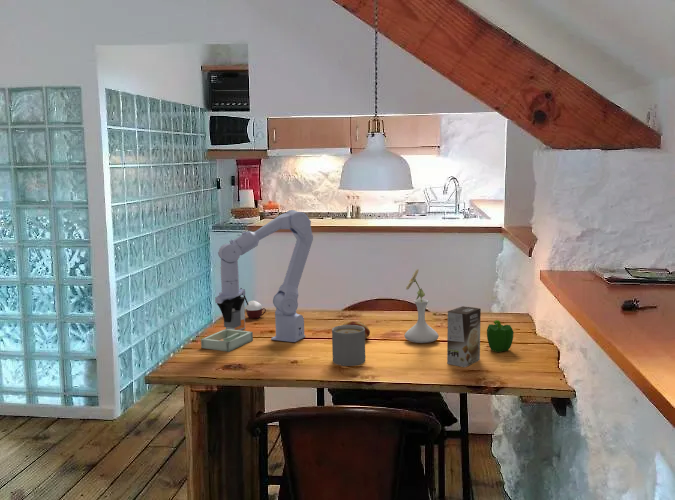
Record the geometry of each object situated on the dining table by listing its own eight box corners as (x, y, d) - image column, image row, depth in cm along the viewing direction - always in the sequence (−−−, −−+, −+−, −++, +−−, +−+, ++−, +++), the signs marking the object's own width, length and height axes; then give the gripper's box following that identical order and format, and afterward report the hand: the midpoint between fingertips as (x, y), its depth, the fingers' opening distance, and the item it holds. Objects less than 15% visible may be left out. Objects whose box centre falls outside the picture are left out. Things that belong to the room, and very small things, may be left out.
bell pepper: (502, 345, 214) (502, 315, 212) (518, 351, 206) (518, 320, 205) (480, 348, 211) (480, 317, 209) (495, 355, 203) (495, 323, 202)
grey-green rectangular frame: (252, 340, 226) (252, 331, 225) (229, 351, 213) (228, 342, 213) (226, 337, 231) (225, 328, 230) (201, 348, 218) (201, 339, 218)
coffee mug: (363, 366, 196) (363, 333, 194) (330, 365, 197) (329, 333, 195) (367, 352, 209) (367, 322, 207) (336, 352, 210) (335, 321, 209)
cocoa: (266, 316, 260) (267, 286, 259) (263, 320, 254) (263, 289, 253) (242, 315, 261) (243, 285, 260) (238, 319, 255) (239, 288, 254)
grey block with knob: (240, 325, 221) (240, 308, 220) (234, 328, 217) (233, 310, 216) (230, 324, 222) (230, 307, 221) (224, 327, 219) (223, 309, 218)
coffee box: (465, 368, 192) (466, 314, 190) (446, 364, 196) (446, 311, 194) (480, 360, 199) (481, 308, 197) (461, 356, 203) (461, 305, 201)
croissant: (354, 340, 236) (344, 320, 236) (378, 328, 233) (368, 308, 233) (339, 356, 216) (327, 334, 216) (365, 344, 213) (353, 322, 213)
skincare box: (233, 332, 236) (232, 299, 235) (225, 330, 239) (224, 298, 237) (246, 328, 241) (244, 296, 239) (237, 327, 244) (236, 295, 242)
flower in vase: (413, 334, 228) (412, 263, 225) (443, 338, 222) (444, 265, 219) (396, 344, 217) (395, 269, 214) (428, 348, 211) (428, 272, 208)
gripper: (232, 275, 226) (233, 314, 228) (206, 283, 213) (208, 324, 215) (249, 276, 223) (251, 316, 225) (224, 284, 210) (226, 326, 212)
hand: (231, 320), depth 219 cm, fingers closed on grey block with knob, 4 cm apart
